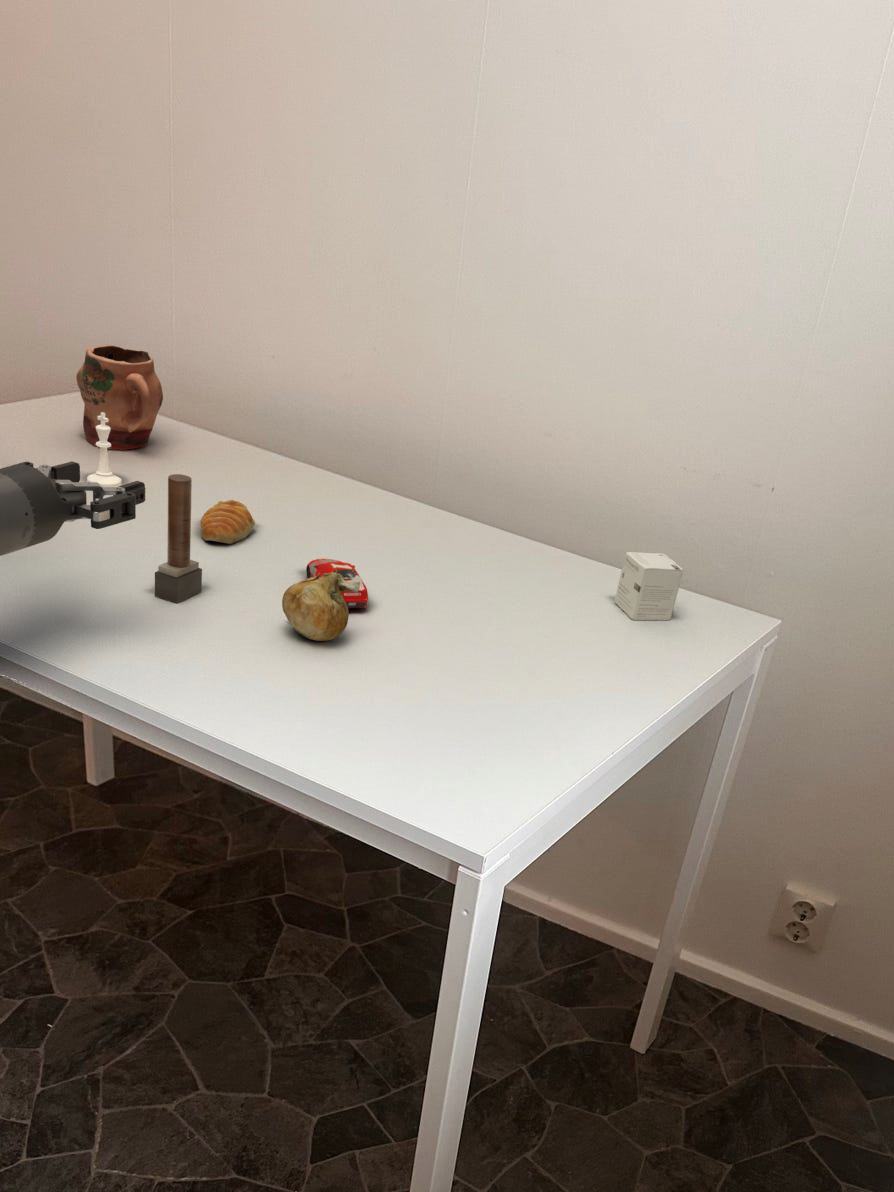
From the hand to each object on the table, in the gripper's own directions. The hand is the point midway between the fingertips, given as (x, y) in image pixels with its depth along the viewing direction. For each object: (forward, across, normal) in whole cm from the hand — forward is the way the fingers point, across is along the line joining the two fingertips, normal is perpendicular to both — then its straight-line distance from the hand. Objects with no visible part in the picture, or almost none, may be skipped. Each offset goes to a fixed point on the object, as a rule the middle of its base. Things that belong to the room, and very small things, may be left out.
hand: (109, 481), depth 127 cm
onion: (+10, -21, +15) cm, 28 cm away
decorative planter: (+53, +40, +14) cm, 68 cm away
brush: (+9, -3, +15) cm, 17 cm away
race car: (+23, -16, +15) cm, 32 cm away
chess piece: (+36, +29, +14) cm, 48 cm away
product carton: (+48, -50, +15) cm, 71 cm away
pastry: (+31, +5, +15) cm, 35 cm away
